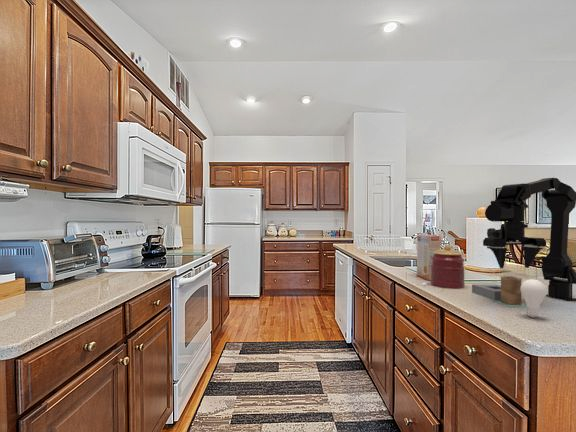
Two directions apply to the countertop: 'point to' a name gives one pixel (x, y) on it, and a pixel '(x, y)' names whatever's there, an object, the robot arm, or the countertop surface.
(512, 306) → the mat
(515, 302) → the plug
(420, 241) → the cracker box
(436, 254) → the canister
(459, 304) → the countertop surface
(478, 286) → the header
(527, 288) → the lightbulb
